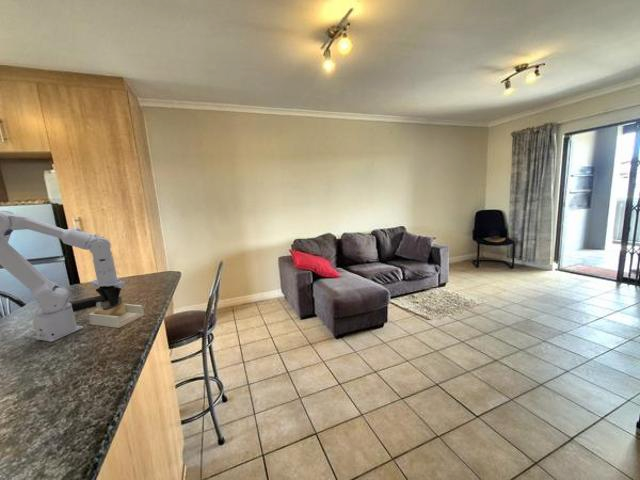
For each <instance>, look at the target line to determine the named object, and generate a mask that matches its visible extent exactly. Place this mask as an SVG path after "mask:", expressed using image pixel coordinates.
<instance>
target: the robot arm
mask: <svg viewBox="0 0 640 480" xmlns="http://www.w3.org/2000/svg"><path fill="white" fill-rule="evenodd" d="M20 230H21V231H22V230H23V231H24V230H29V231H33V232H37V233H39V234H43V235H47V236H51V237H55V238H59V239H60V240H61V241H62V243H63V244H65V245H68V246H71V247H74V248H78V249H80V250H81V249H82V250H85V251H88V250H89V252H90V253H91V254H92V262H93V268H94V272H95V277H96V279H95V280H91V281H90V282H91V283H90V284H91V287H98V288H96V289H95V292H97V293H98V295H99V296H100V295H101V296H102V298H103V299H104V302H105V301H108V300H109V302H110V304H111V306H114V305H117V304H118V299H119V297H120V293H121V290H122V289H123V288H125V287H127V285H126V281H123V280H121V278H120V277H118V276H117V270H116V266H115V260H114V257H113V253H112V251H111V246H112V245H111V244H112V243H111V241H110V240H109V239H108V238H106V237H104V236H99V235H98V234H96V233H94V234H91V233H89V232H86V231H83V229H82V228H79V227H78V228H77V227H76V228H73V227H71V228H68V229H64V228H61V227H58V226H56V225H54V224H51V223H48V222H45V221H42V220H39V219H36V218H34V217H32V216H27V215H24V214H20V213H14V212H11V211H9V210H0V266H1V267H3V268H4V269H5V270H6V271H7V272H8V273H10V274H11V276H13V277H14V278H15V279H16V280H18V281H19V282H20V283H21V284H22V285H24V287H26V288H27V289H29V290H30V291H31V294H32V296H33V297H32V298H33V299H35V301H36V302H37V304H38V307H39V308H40V310H41V312H42V313H40V314H38V315H36V316H34V317H33V321H32V322H33V326H34V327H33V328H34V330H35V333H36V340H39V341H44V342H54V341H56V340H59V339H61V338H64V337H65V336H68V335H70V334H72V333H74V332H76V331H79V330H81V329H83V328H84V326H82V325H77V322H76V318H75V313H74V312H73V309H72V304H71V303H70V302H71V301H69V298H70V297H71V292H70V290H69V289H68V288H66V287H64V286H60V285H59V284H57V282H54V281H52V280H50V279H48V278H47V277H46V276H45V275H44V274H43V273H42V272H41V271H39V269H37V268H36V266H34V265H33V264H31V262H30V261H28V260H27V259H26V258H25V257H24V256H23V255H22V254H21V253H19V252H18V251H17V250H16V249H15V248H14V247H13V246H12V245H11V244H10V243H9V241H10V239H11V236H12V235H11V234H12V233H13V231H20Z"/></svg>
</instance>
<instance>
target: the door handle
mask: <svg viewBox="0 0 640 480" xmlns="http://www.w3.org/2000/svg"><path fill="white" fill-rule="evenodd" d="M69 302H70V303H71V304H72V309H73V313H74V312H77V311H81V310H82V311H83V310H86V309H91V308H94V307H95V309H97V308H100V307H102V302H105V301H104V299H103V298H102V296H101V295H100V294H99V295H97V296H91V297H88V298H86V297H85V298H82V299H79V300H73V301H69Z"/></svg>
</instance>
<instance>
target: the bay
mask: <svg viewBox="0 0 640 480" xmlns="http://www.w3.org/2000/svg"><path fill="white" fill-rule="evenodd" d="M125 307H126V312H127V313H125V314H122V315H120V316H111V315H102V314H94V311H92V312H89V313H88V314H87V316H88V317H87V318H88V321H89V325H92V326H93V325H94V326H101V327H110V328H117V329H119V328H122V327H124V326H126V325H128V324H129V323H131V322H132V323H133V322H134V321H136V320H137V319H140V318H142V317H143V316H145V311H144V306H143V305H140V304H130V303H129V304H128V303H125Z"/></svg>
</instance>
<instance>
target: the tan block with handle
mask: <svg viewBox="0 0 640 480" xmlns="http://www.w3.org/2000/svg"><path fill="white" fill-rule="evenodd" d="M125 304H126V303H125V302H123V300H122V296H119V299H118V304H117V305H114V306H111V304H110V302H109V300H108V301H104V302H102V307H100V308H97V309H96V308H95V309H93V312H94V314H102V315H111V316H120V315H122V314H125V313H127V312H126V307H125Z"/></svg>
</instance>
